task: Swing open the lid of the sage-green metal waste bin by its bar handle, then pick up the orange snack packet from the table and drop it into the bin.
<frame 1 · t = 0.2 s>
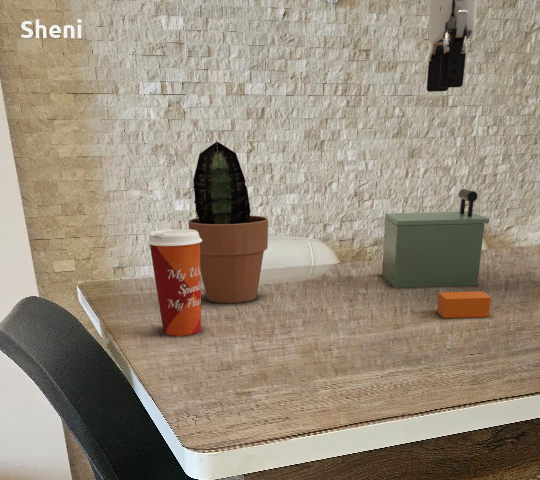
hand: (443, 89, 97), 31 cm above the table, tool pointing down, fingers open, 9 cm apart
bin lid: (436, 205, 123), point 13 cm above the table, hinge at 0.0°
waste bin: (427, 280, 129), on the table
packet: (462, 314, 105), on the table
potted plant: (232, 299, 119), on the table
paper cup: (182, 332, 100), on the table
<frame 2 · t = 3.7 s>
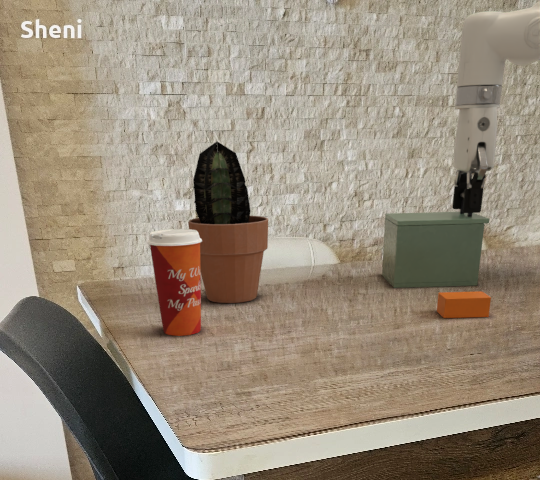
hand: (466, 209, 123), 13 cm above the table, tool pointing down, fingers closed on bin lid, 6 cm apart
bin lid: (436, 205, 123), point 13 cm above the table, hinge at 0.0°, touching gripper
everything else where it was.
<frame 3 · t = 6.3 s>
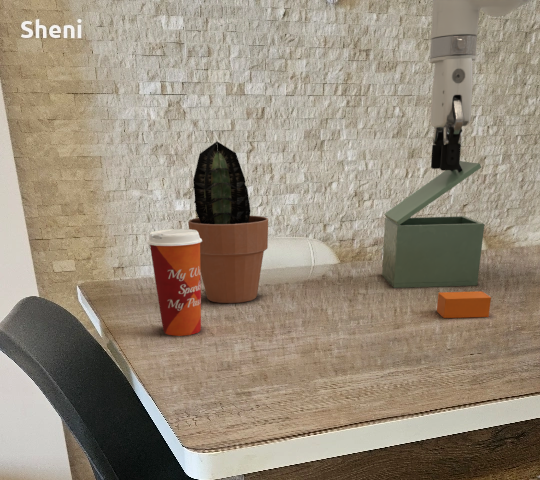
hand: (444, 168, 120), 20 cm above the table, tool pointing down, fingers closed on bin lid, 6 cm apart
bin lid: (424, 181, 121), point 18 cm above the table, hinge at 33.4°, touching gripper
everything else where it was.
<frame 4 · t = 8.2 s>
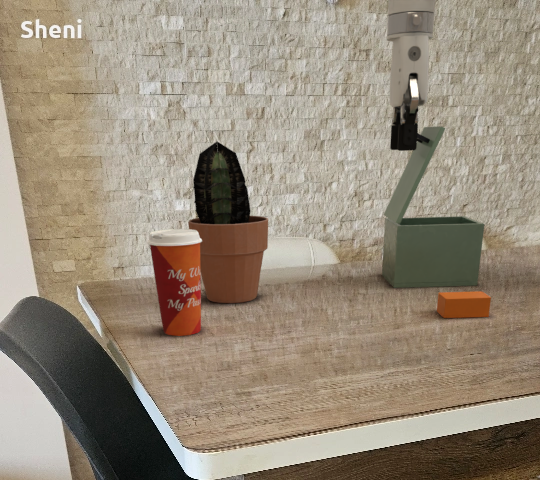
hand: (402, 149, 118), 23 cm above the table, tool pointing down, fingers closed on bin lid, 6 cm apart
bin lid: (401, 169, 120), point 20 cm above the table, hinge at 65.8°, touching gripper
everything else where it was.
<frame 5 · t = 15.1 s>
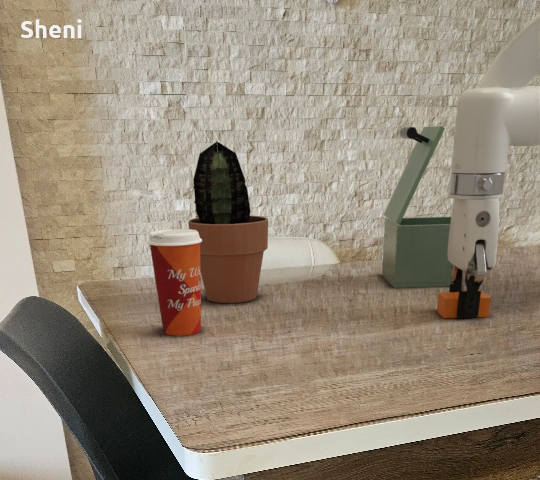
hand: (462, 311, 104), 0 cm above the table, tool pointing down, fingers closed on packet, 4 cm apart
bin lid: (401, 169, 120), point 20 cm above the table, hinge at 66.1°
packet: (462, 314, 105), on the table, touching gripper
everything else where it was.
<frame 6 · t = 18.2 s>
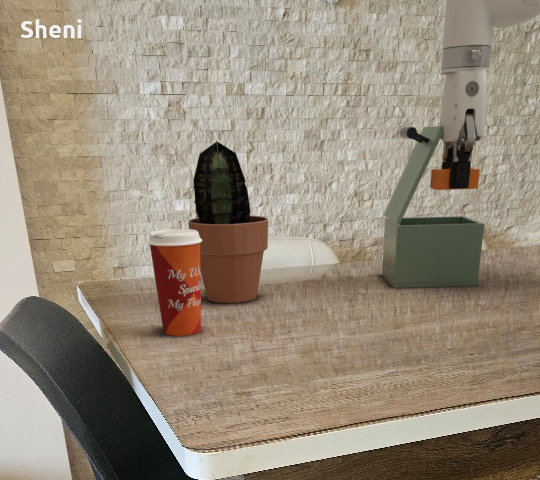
hand: (453, 186, 114), 17 cm above the table, tool pointing down, fingers closed on packet, 4 cm apart
packet: (453, 188, 114), point 17 cm above the table, touching gripper
everything else where it was.
when the fingers open (9 cm above the table, at t = 21.3 s): packet drops 8 cm, resting on waste bin.
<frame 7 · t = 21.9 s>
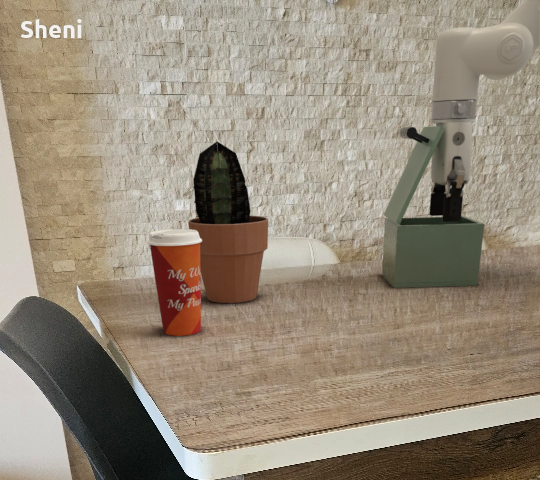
hand: (444, 218, 124), 11 cm above the table, tool pointing down, fingers open, 9 cm apart
packet: (438, 275, 129), point 1 cm above the table, touching waste bin
everything else where it was.
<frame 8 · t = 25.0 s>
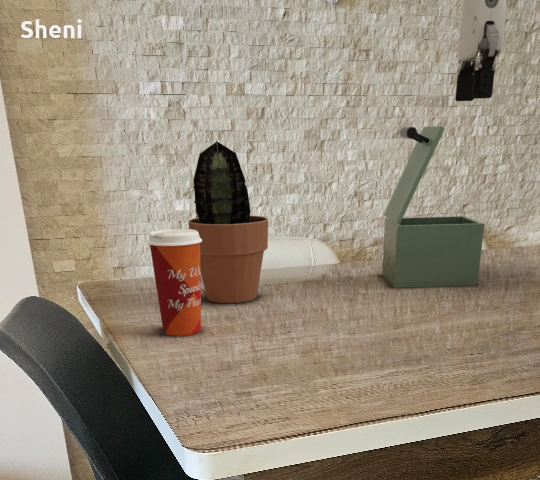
hand: (472, 99, 113), 30 cm above the table, tool pointing down, fingers open, 9 cm apart
nothing on the table moved.
at the end: bin lid at +66° (first picture: +0°); packet inside the target area in the waste bin (2.0 cm from its centre), point 0.8 cm above the waste bin's base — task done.
